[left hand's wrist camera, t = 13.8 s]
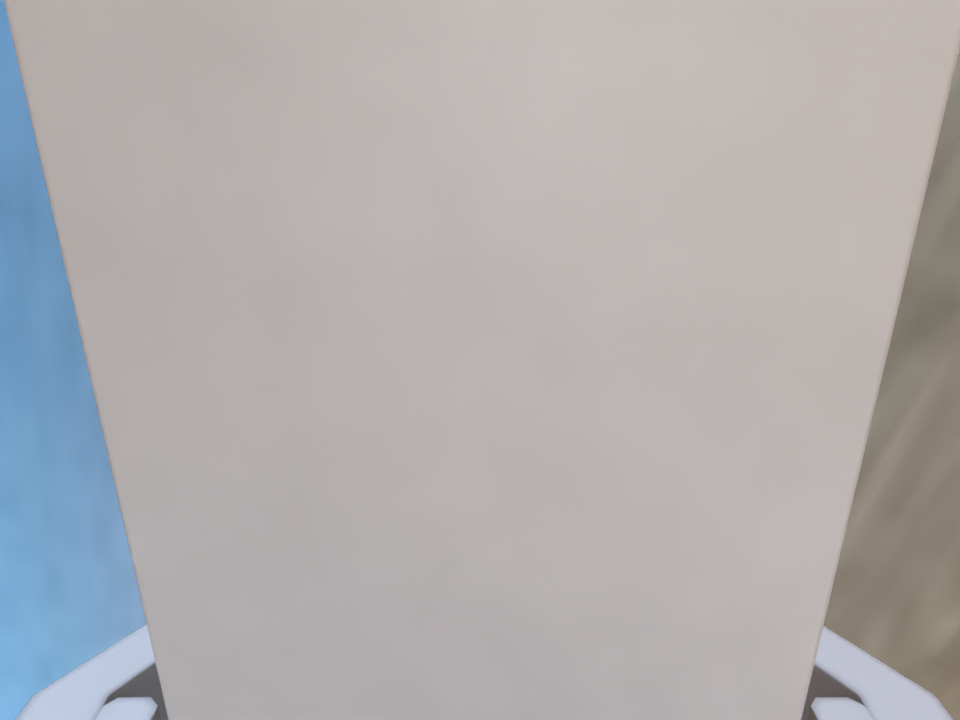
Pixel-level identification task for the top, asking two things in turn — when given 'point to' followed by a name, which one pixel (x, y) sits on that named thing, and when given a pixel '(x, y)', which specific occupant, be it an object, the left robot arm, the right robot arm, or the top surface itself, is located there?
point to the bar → (486, 335)
